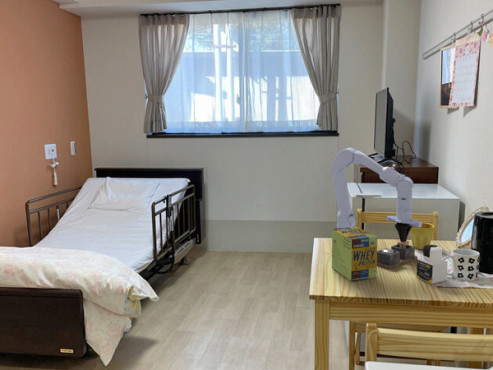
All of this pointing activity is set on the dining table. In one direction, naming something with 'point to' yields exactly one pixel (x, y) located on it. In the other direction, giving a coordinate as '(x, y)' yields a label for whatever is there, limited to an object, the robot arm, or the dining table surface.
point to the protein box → (354, 253)
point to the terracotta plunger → (403, 244)
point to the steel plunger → (387, 251)
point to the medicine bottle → (432, 265)
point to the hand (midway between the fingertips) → (403, 241)
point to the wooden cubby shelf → (396, 256)
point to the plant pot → (421, 235)
